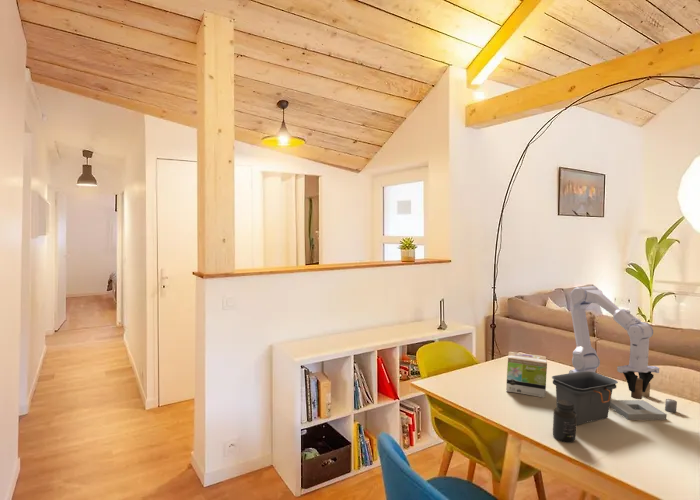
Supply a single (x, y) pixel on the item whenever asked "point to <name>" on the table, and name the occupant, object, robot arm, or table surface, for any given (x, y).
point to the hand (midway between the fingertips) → (637, 391)
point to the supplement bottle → (564, 421)
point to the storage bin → (586, 394)
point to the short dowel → (670, 405)
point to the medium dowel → (646, 392)
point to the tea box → (526, 374)
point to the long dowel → (638, 389)
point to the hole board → (642, 413)
